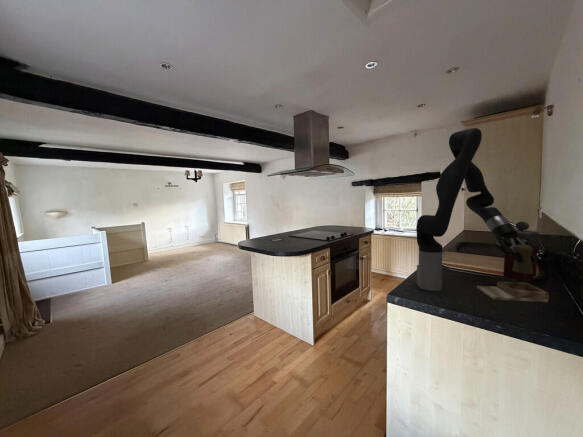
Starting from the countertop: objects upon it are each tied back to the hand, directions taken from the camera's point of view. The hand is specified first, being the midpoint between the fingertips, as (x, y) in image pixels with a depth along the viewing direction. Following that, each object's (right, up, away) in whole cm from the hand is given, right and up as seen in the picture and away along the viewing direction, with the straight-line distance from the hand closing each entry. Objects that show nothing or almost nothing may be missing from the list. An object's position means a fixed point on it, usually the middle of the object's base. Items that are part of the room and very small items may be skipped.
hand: (527, 261), depth 94 cm
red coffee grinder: (+20, -12, +23) cm, 33 cm away
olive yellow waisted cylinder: (0, -5, +2) cm, 5 cm away
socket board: (-4, -14, +4) cm, 15 cm away
